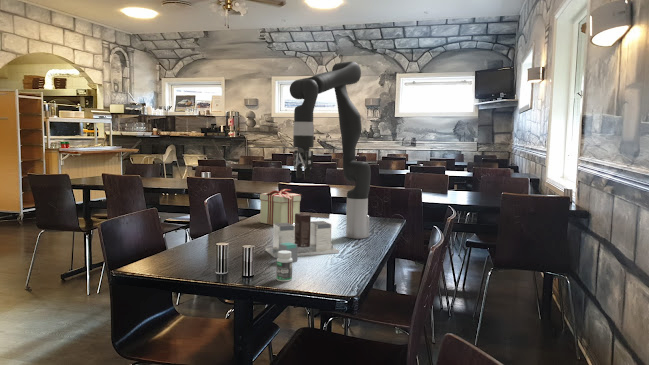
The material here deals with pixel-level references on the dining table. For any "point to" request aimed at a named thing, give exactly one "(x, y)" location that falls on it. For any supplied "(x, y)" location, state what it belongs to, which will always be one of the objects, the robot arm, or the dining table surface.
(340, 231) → the dining table surface
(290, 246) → the block
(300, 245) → the box
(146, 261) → the dining table surface
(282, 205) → the gift box
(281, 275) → the pill bottle
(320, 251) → the rail panel
